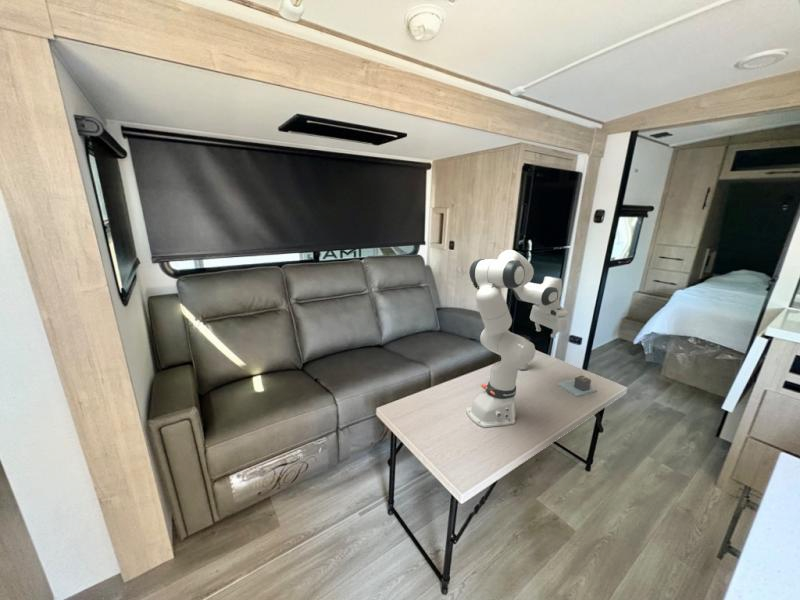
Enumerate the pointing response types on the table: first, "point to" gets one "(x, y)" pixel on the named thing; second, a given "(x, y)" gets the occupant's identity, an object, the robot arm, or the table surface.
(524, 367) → the travel mug
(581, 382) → the dark brown block
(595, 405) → the table surface
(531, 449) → the table surface
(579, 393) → the hub plate
